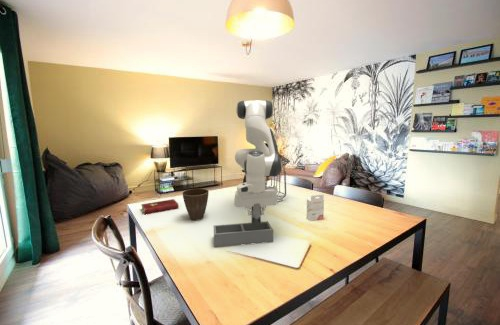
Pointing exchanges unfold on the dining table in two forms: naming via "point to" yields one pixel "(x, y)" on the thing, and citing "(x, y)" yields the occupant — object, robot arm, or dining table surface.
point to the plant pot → (196, 202)
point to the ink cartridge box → (315, 207)
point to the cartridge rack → (242, 234)
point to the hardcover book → (159, 206)
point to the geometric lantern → (279, 176)
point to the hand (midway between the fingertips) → (256, 214)
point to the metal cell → (256, 214)
